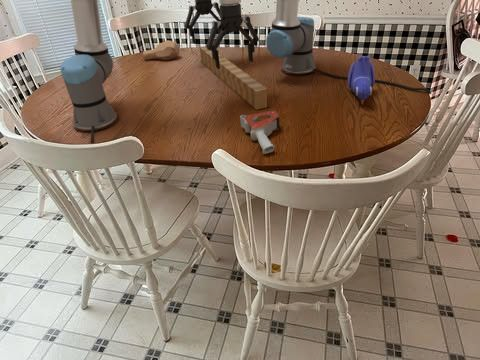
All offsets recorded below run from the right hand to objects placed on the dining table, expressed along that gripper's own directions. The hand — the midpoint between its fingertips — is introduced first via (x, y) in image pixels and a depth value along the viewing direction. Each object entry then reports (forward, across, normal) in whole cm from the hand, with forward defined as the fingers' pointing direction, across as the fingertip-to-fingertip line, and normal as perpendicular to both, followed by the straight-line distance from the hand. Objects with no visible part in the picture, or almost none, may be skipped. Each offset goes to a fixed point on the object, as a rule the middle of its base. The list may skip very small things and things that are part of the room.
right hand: (207, 40), depth 174 cm
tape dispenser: (+12, +10, +79) cm, 81 cm away
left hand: (-2, +5, +46) cm, 46 cm away
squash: (+12, +19, -23) cm, 32 cm away
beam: (+12, 0, +26) cm, 29 cm away
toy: (+12, -38, +70) cm, 80 cm away
